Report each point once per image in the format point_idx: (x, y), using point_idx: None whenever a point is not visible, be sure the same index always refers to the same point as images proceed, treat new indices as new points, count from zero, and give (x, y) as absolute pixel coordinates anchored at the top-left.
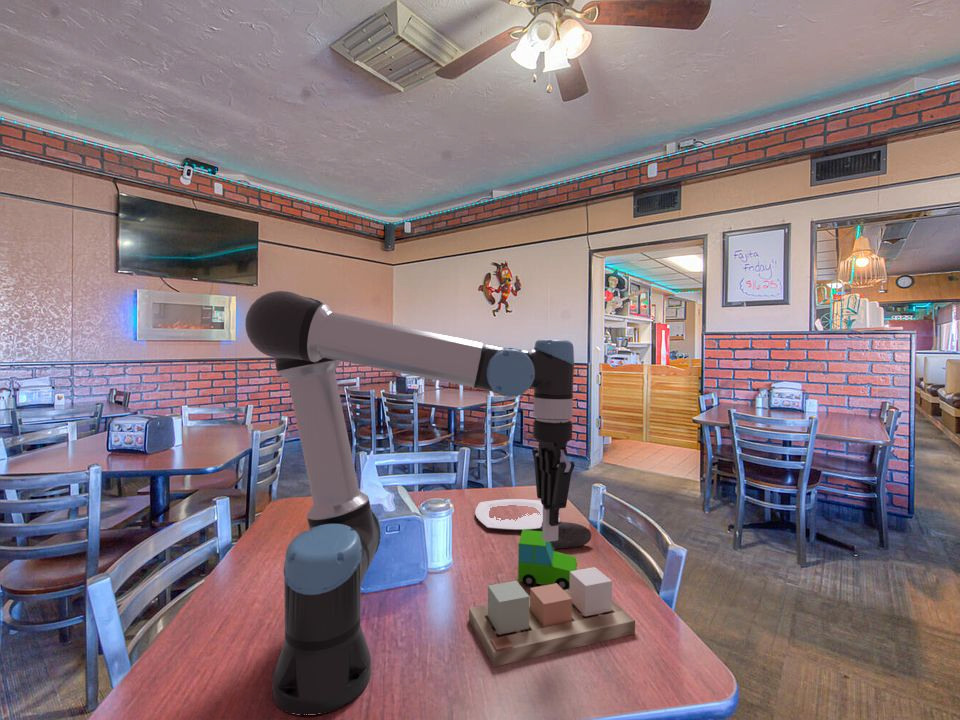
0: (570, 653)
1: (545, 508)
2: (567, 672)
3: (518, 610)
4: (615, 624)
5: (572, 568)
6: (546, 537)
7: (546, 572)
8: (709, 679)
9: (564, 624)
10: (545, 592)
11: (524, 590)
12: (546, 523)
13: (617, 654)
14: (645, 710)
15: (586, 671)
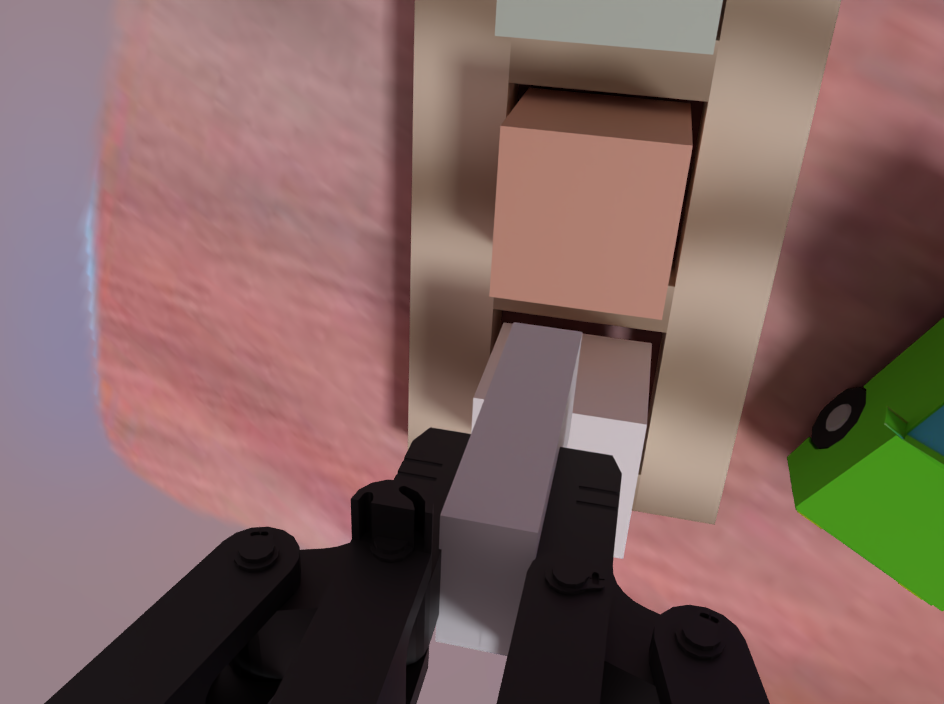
0: (403, 142)
1: (384, 488)
2: (307, 58)
3: None
4: (411, 392)
5: (836, 518)
6: (506, 347)
7: (918, 389)
8: (170, 459)
9: (491, 201)
10: (604, 204)
11: (570, 41)
12: (479, 415)
13: (341, 305)
14: (93, 198)
15: (292, 135)
